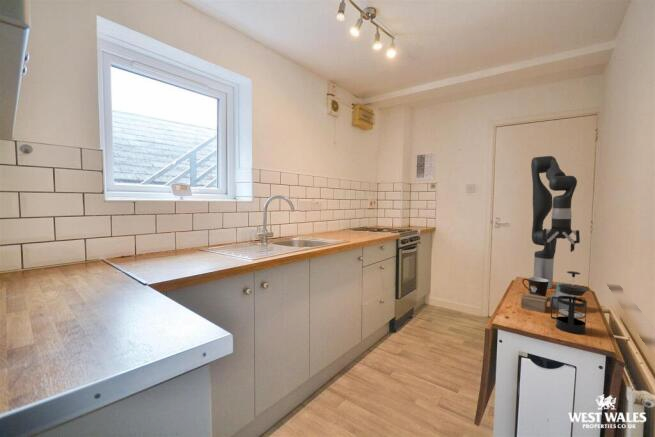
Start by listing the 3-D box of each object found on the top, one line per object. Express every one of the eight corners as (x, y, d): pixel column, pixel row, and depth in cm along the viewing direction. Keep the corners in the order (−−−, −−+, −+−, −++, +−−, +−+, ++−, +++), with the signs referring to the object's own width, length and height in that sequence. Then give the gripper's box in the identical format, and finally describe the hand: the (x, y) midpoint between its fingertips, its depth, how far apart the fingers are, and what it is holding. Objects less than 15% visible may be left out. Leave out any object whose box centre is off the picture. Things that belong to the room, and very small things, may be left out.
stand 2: (552, 302, 149) (552, 292, 149) (575, 307, 143) (576, 296, 142) (549, 307, 142) (550, 297, 142) (574, 312, 136) (575, 301, 136)
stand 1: (524, 302, 148) (525, 293, 148) (546, 307, 142) (547, 297, 142) (520, 307, 142) (521, 297, 141) (544, 312, 136) (544, 302, 135)
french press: (587, 328, 119) (591, 271, 118) (588, 337, 112) (592, 276, 110) (551, 321, 127) (553, 267, 125) (549, 328, 119) (552, 271, 118)
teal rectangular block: (555, 297, 141) (556, 284, 141) (557, 293, 147) (558, 281, 146) (569, 299, 138) (570, 287, 138) (570, 296, 143) (571, 283, 143)
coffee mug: (551, 301, 151) (553, 281, 150) (534, 301, 151) (535, 281, 150) (536, 293, 162) (537, 275, 161) (520, 293, 162) (521, 275, 162)
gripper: (542, 217, 147) (541, 250, 148) (580, 218, 137) (579, 253, 139) (544, 216, 152) (543, 248, 154) (580, 217, 143) (579, 250, 144)
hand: (560, 250), depth 146 cm, fingers open, 8 cm apart
